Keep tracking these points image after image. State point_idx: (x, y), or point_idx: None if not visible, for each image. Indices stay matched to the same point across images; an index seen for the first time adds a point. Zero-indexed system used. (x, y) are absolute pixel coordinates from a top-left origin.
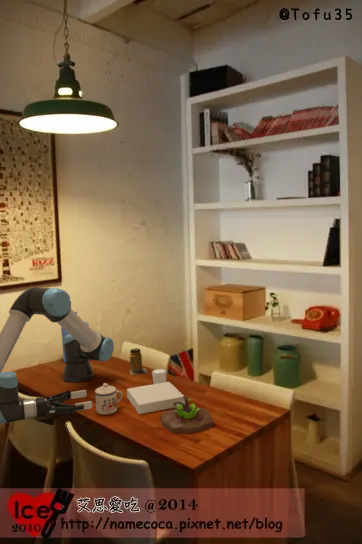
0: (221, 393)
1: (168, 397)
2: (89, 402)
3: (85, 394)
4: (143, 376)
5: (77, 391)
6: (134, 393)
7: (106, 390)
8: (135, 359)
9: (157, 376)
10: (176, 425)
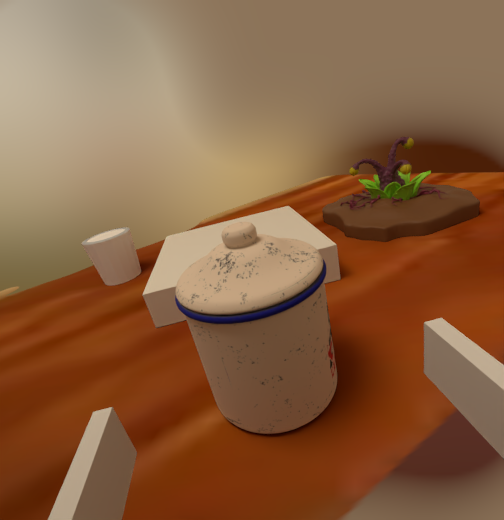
0: (247, 211)
1: (286, 218)
2: (458, 334)
3: (126, 446)
4: (9, 314)
5: (57, 515)
6: None
7: (290, 245)
8: None
9: (125, 243)
10: (466, 196)
